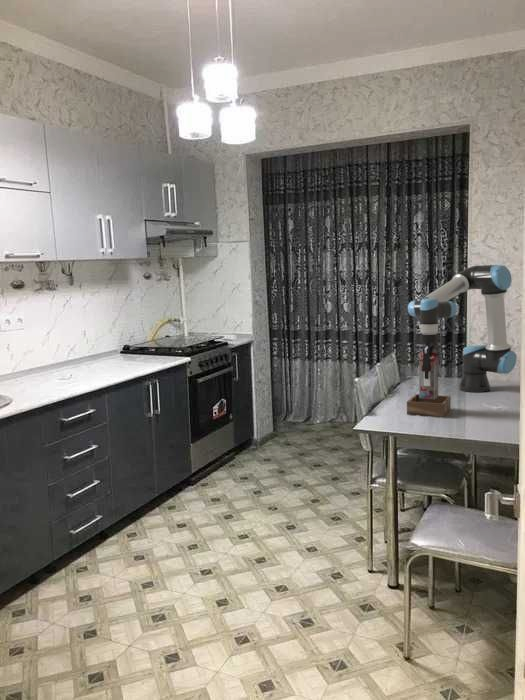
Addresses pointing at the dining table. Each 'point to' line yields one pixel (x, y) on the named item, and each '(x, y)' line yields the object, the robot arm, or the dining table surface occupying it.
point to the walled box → (429, 406)
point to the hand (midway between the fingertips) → (428, 384)
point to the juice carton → (431, 390)
